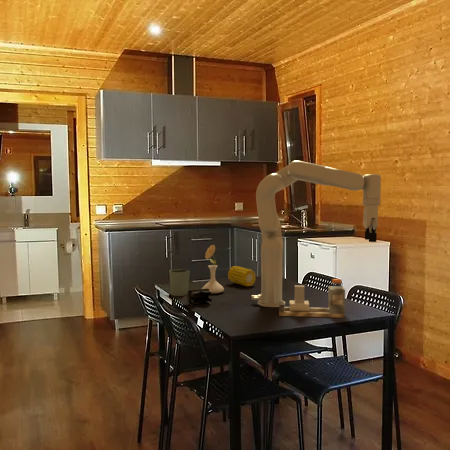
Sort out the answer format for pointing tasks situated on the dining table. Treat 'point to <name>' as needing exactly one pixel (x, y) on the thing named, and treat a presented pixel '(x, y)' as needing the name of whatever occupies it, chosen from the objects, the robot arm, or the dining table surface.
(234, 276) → the food
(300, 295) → the carriage
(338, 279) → the button
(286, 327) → the dining table surface
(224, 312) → the dining table surface
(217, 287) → the flower in vase
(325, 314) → the rail base
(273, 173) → the robot arm
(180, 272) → the green tapered cup
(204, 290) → the end cap
